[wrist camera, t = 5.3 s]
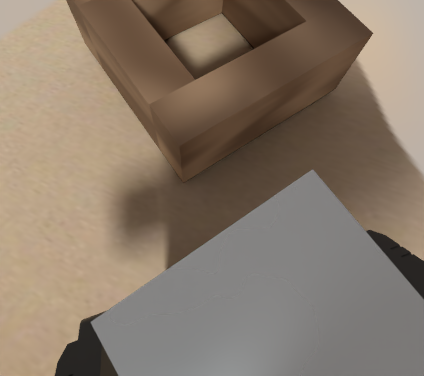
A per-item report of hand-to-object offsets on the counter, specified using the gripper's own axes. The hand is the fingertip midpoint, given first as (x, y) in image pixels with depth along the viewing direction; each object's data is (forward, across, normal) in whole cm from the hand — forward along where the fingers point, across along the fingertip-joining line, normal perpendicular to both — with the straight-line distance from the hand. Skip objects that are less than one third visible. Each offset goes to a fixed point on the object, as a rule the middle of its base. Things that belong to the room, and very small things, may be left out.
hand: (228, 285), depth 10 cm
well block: (+13, -4, -6) cm, 15 cm away
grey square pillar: (+3, 0, +5) cm, 5 cm away
